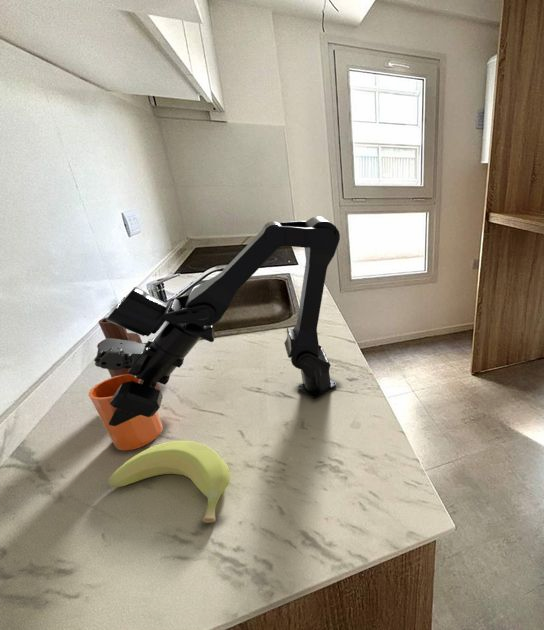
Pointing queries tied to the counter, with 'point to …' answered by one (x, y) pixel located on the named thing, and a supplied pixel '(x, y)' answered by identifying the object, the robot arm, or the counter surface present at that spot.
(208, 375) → the counter surface
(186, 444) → the banana
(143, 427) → the orange plastic tumbler
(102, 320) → the sauce bottle
